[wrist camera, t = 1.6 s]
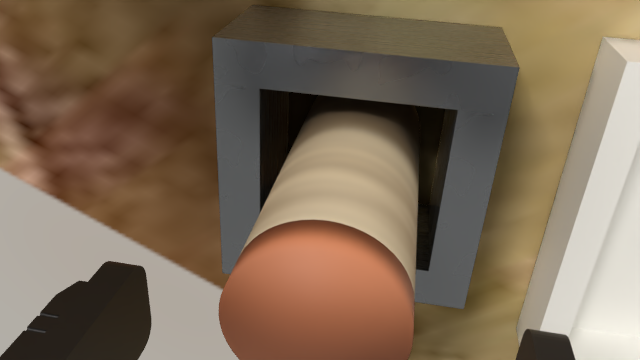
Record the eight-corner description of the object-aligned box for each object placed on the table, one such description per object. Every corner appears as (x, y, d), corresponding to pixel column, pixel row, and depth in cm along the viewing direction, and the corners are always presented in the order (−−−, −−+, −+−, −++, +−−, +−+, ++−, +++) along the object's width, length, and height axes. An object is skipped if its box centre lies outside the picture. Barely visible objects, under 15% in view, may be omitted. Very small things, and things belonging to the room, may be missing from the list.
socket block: (252, 5, 19) (212, 37, 15) (501, 27, 18) (519, 67, 14) (254, 210, 23) (222, 272, 19) (458, 238, 22) (463, 309, 18)
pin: (310, 69, 19) (215, 234, 11) (427, 82, 19) (426, 264, 10) (305, 172, 21) (222, 381, 13) (412, 185, 21) (400, 411, 12)
